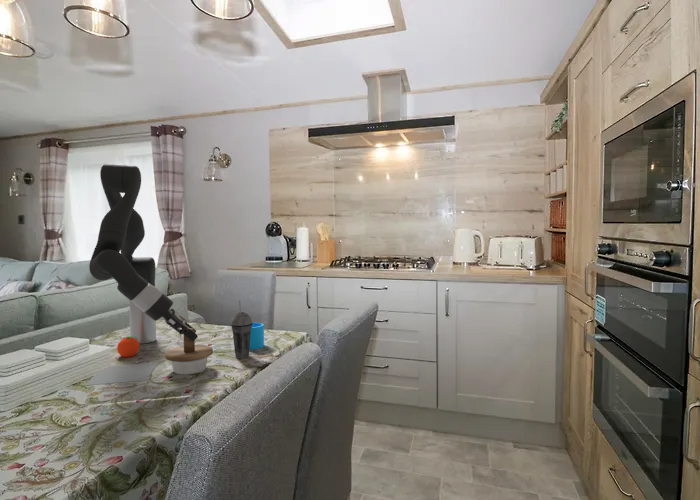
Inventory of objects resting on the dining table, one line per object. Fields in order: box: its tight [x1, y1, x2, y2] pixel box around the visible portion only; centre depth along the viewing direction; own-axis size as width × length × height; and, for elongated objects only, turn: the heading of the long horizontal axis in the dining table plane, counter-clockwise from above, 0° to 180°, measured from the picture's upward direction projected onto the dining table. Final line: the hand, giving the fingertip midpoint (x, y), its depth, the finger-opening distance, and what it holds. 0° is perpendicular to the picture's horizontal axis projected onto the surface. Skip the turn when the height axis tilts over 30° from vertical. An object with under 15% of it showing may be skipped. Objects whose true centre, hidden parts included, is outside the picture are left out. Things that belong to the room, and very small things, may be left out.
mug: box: [250, 322, 265, 350], centre depth 156 cm, size 12×8×8 cm
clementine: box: [116, 336, 141, 358], centre depth 142 cm, size 8×7×7 cm
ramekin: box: [171, 357, 208, 375], centre depth 128 cm, size 11×11×5 cm
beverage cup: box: [230, 299, 254, 360], centre depth 142 cm, size 7×7×20 cm
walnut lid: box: [164, 327, 214, 362], centre depth 128 cm, size 14×14×8 cm
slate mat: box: [84, 362, 158, 387], centre depth 125 cm, size 16×16×1 cm
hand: (194, 335), depth 128 cm, fingers open, 6 cm apart
